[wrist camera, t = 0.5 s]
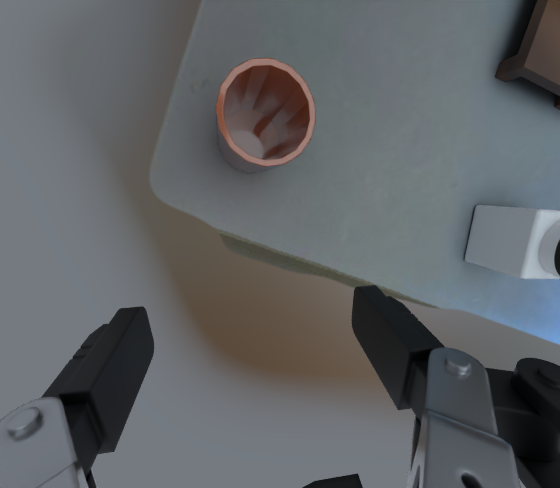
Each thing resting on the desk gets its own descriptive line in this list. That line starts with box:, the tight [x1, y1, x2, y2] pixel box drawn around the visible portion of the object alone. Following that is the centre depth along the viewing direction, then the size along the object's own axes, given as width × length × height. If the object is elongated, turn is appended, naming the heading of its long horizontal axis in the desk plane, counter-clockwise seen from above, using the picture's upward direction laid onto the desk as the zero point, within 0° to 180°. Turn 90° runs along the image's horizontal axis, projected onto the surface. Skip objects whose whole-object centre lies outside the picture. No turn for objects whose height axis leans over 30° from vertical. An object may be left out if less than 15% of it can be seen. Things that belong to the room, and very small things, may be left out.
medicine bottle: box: [465, 205, 560, 279], centre depth 29 cm, size 7×7×12 cm
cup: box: [216, 58, 316, 173], centre depth 21 cm, size 6×6×10 cm
